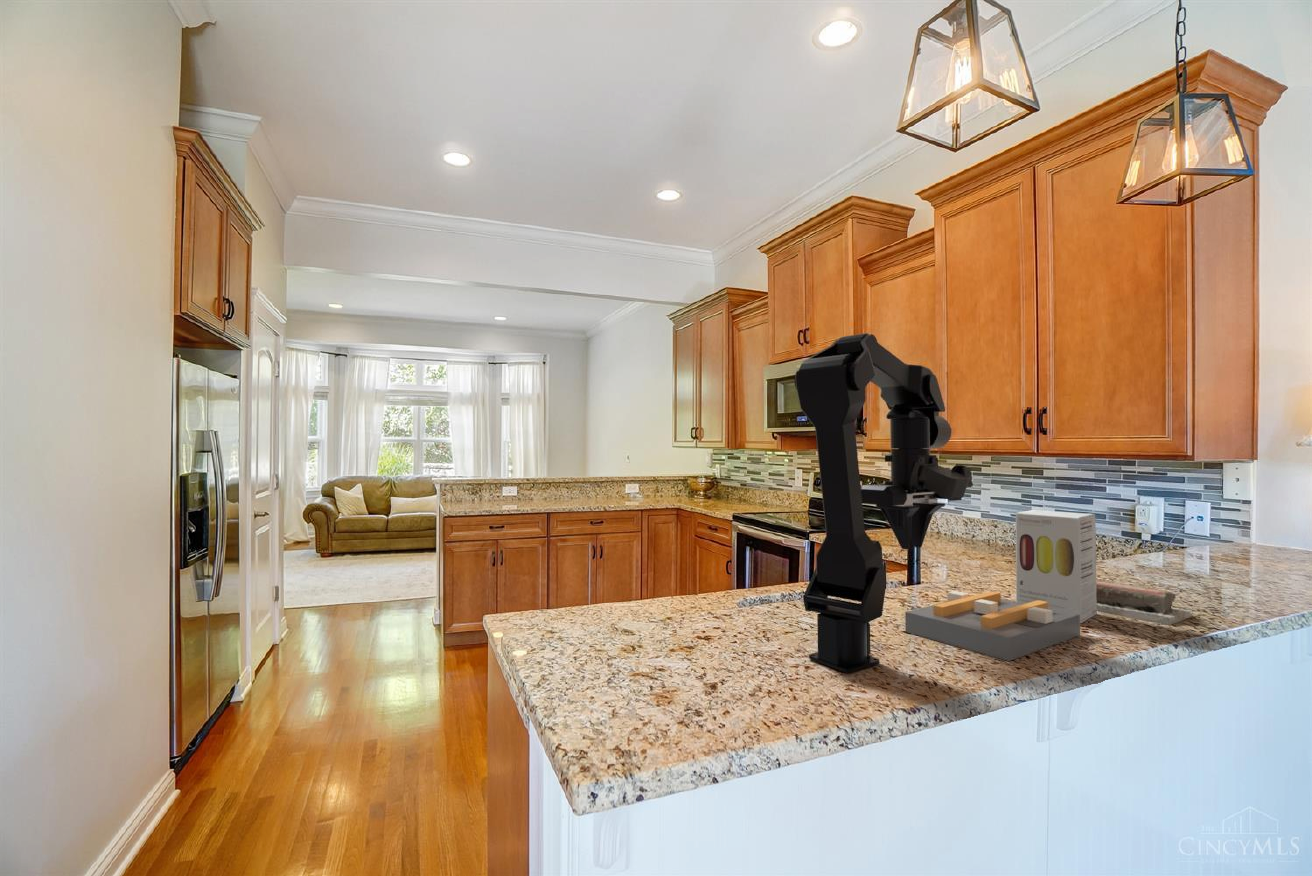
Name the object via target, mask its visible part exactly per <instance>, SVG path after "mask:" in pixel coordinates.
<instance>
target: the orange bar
mask: <svg viewBox="0 0 1312 876" xmlns="http://www.w3.org/2000/svg"><path fill="white" fill-rule="evenodd" d="M1032 607H1037V608H1042V609H1047V610H1048V602H1045V601H1040V600H1037V601H1034V602H1030V603H1026V604H1023V605H1019V606H1016V607H1012V608H1008V609H1005V610H1001V611H998V612H994V613H990V614H987V615H983V616H981V627H985V628H989V629H993V628H996V627H999V626H1002V625H1006V624H1009V623H1012V622H1016V621H1019V620H1022V619H1025V618H1027V609H1029V608H1032Z"/></svg>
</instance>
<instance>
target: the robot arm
mask: <svg viewBox="0 0 1312 876" xmlns="http://www.w3.org/2000/svg"><path fill="white" fill-rule="evenodd" d="M869 383H872V384H873V385H875V386H877V387H878V388H879V389H880V395H879V396H880V398H881V399H882V400H883V401H884V402H885V404H886V405H887V408H888V412H887V414H886V417H885V418H886V419H887V420H889V421H890V423H889V425H890V428H889V429H890V430H889V433H890V454H889V455H886V454H885V455H884V462H885V463H886V462H890V480H885V481H884V482H885V484H865V485H864V484H862V485H861V479H860V477H861V476H860V467H859V459H858V458H859V456H858V455H859V454H858V446H857V436H856V426H855V425H856V424H855V423H856V420H857V419H858V417H859V415H860V413H861V411H862V409H863V407H864V405H865V403H866V399H867V398H866V388H867V386H869ZM794 386H795V387H794V388H795V389H796V393H797V398H798V403H799V407H800V409H801V411H802V412H803V414H804V415H805V416H806V418H807V419H808V420H809V422H810V423H811V424H812V425H813V427H814V430H815V440H816V450H817V458H818V467H819V475H820V476H819V478H820V489H821V496H822V498H821V499H822V505H823V506H822V507H823V513H824V514H823V515H824V516H823V517H824V526H825V527H824V528H825V538H824V539H823V542H822V544H821V545H820V546H819V547H820V548H819V549H818V551H817V553H816V555H815V566H816V567H815V569H814V572H813V573H812V575H811V578H810V580H809V583H808V585H807V587H806V589H805V591H804V594H803V596H802V600H803V601H802V602H803V604H804V610H805V611H806V612H815V613H817V618H816V619H817V620H816V621H817V625H816V626H817V651H816V652H813V653H810V654H808V659H809V660H811V661H814V662H816V663H819V664H822V665H824V666H827V667H830V668H833V669H835V670H838V671H840V672H843V673H846V674H849V673H853V672H856V671H860V670H862V669H866V668H869V667H873V666H877V665H879V664H880V659H879V658H878V657H875V656H871V624H870V622H872V621H875V620H877V619H879V618H881V617H882V616H883V611H884V610H883V609H884V603H885V596H886V588H887V575H886V572H885V570H886V569H885V566H884V561H883V547H882V545H881V543H880V541H879V540H873V539H871V538H870V537H869V535H868V533H866V529H865V528H866V527H865V521H864V509H863V508H864V507H863V504H864V505H875V506H876V508H878V509H880V511H881V512H882V515H883V516H884V517H885V519H886V521H887V523H888V525H889V526H890V528H891V530H892V532H893V534H894V536H895V538H896V540H897V541H898V544H899V546H900V548H901V549H902V550H906V551H907V550H910V547H911V542H912V545H913V547H914V548H919V549H920V548H922V547H923V544H924V541H925V537H926V534H927V531H928V529H929V525H930V523H931V520H932V518H933V516H934V514H935V513H936V512H938V510H940V509H941V508H944V507H945V506H946V503H944V502H943V503H942V502H939V501H938V500H941V499H942V500H943V499H944V500H948V501H951V502H953V501H954V502H955V501H962V499H963V498H964V496H965V493H966V490H967V488H972V487H973V485H974V483H973V481H972V480H973V476H972V470H971V469H972V468H971V467H969V466H966V465H964V464H956V465H954V466H953V467H952V468H950V467H944V466H941V465H939V458H938V456H937V455H936V454H934V455H933V454H931V450H935V449H939V448H940V449H941V448H942V447H945V445H946V444H948V442H949V441H950V440H951V437H952V428H951V426H950V425H951V424H950V423H949V421H948V420H946V419H945V418H944V417H943V416H940V415H939V414H940V413H943V412H946V407H945V403H944V399H943V396H942V392H941V388H940V385H939V381H938V378H937V376H936V375H935V374H934V373H933V371H932V370H931V369H930V367H926V366H923V365H922V364H921V365H919V364H908V363H905V362H903V361H902V360H901V359H899V358H898V357H897V356H896V355H894V354H893V353H892V352H891V351H889V350H888V349H887V348H885V346H883V345H882V344H880V343H879V342H878V339H877V337H876V336H875V335H874V334H872V333H871V334H870V333H867V332H866V333H865V332H864V333H858V334H852V335H845V336H841V337H839V338H838V339H837V338H836V340H835V341H834V342H832V344H831V345H830V346H827V347H826V348H824V349H822V350H821V351H819V352H816V353H815V354H813V355H811V356H810V357H808V359H807V358H806V359H805V360H803V361H802V362H801V364H800V366H799V368H798V369H797V370H796V372H795V374H794ZM831 597H832V598H831ZM836 598H838V599H836ZM841 599H842V600H841ZM843 599H844V600H843ZM847 600H849V601H847ZM852 601H855V602H852ZM859 602H860V603H859Z"/></svg>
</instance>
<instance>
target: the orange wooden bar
mask: <svg viewBox="0 0 1312 876" xmlns="http://www.w3.org/2000/svg"><path fill="white" fill-rule="evenodd" d="M977 594H978V593H977ZM977 594H974V596H973V595H969V596H970V597H966V598H962V599H958V600H953V601H949V602H948V601H945V603H943V602H940V603H941V604H939V603H936V604H937V605H935V604H932V605H933V615H936V616H940V617H944V616H948V615H952V614H956V613H960V612H964V611H967V610H971V609H974V601H976V600H980V599H983V600H988V601H993V602H1001V599H1002V598H1001V597H1002V595H1001V592H998V591H987V592H982V593H979V594H978V595H977Z"/></svg>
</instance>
